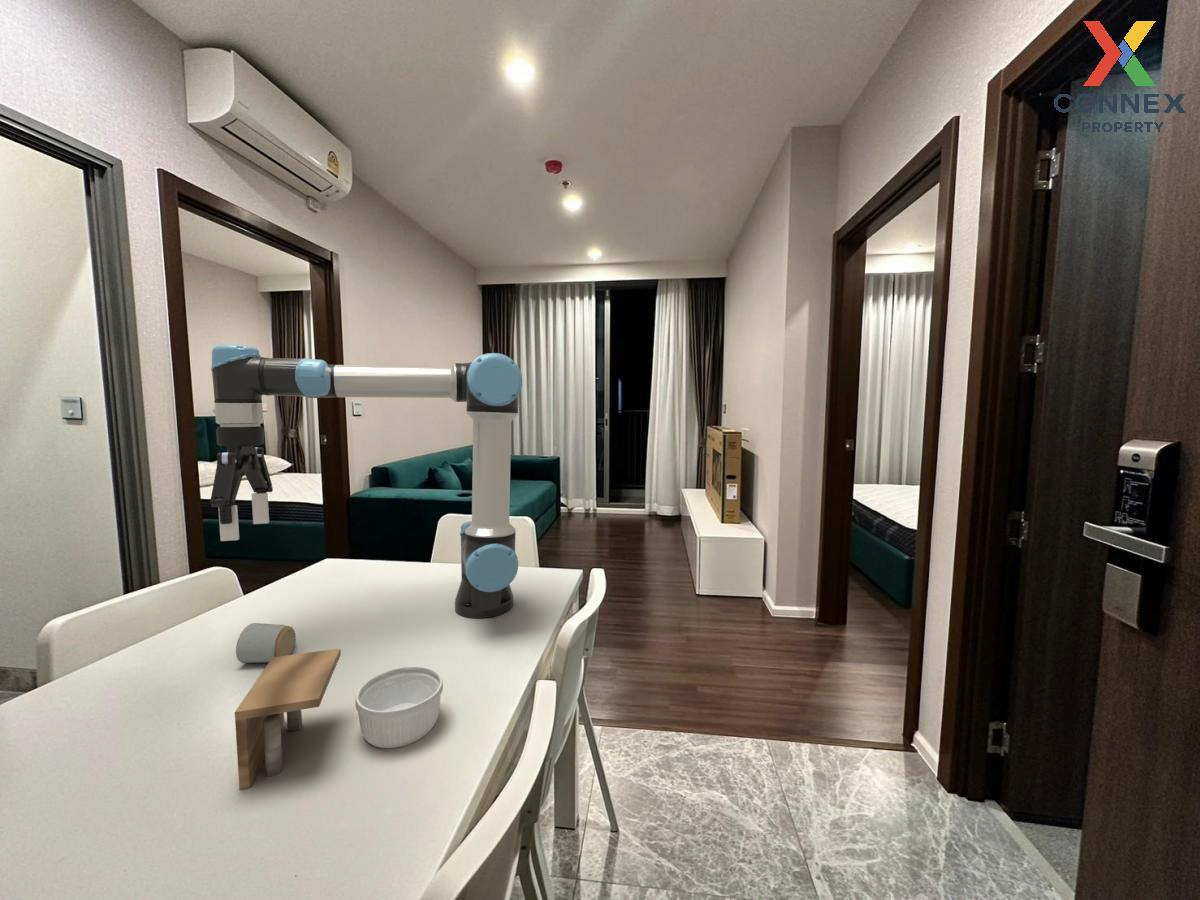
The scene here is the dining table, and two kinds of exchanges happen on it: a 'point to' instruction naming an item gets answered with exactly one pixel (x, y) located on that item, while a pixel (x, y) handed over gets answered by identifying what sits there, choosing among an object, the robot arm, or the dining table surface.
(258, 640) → the ceramic mug
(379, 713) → the ramekin
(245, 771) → the walnut shelf
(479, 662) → the dining table surface
